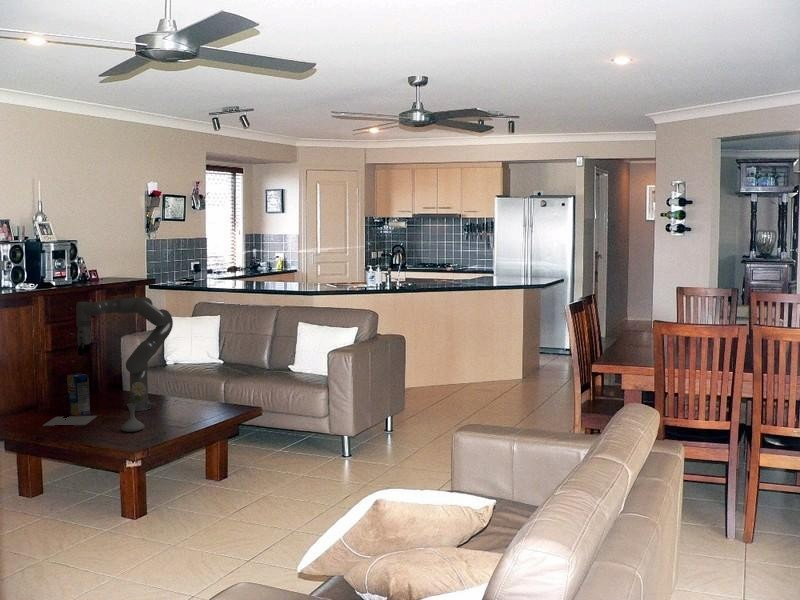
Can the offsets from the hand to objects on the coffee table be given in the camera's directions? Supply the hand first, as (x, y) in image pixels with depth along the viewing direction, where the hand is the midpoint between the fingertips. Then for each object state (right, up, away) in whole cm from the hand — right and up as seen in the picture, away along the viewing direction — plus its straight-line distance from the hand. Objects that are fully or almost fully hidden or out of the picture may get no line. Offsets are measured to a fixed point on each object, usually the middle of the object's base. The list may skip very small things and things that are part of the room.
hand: (83, 354), depth 471 cm
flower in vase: (+42, -36, -44) cm, 71 cm away
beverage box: (0, -33, -7) cm, 34 cm away
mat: (+1, -35, -22) cm, 41 cm away
